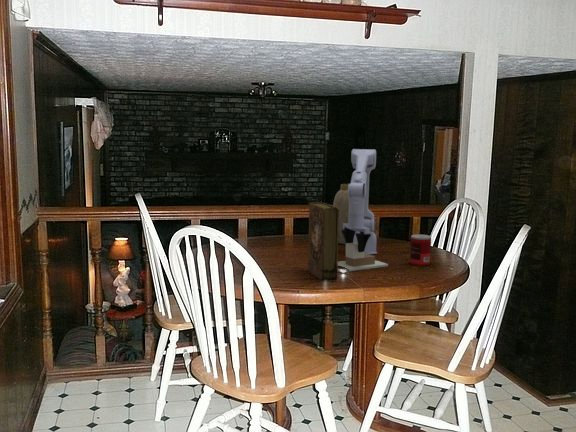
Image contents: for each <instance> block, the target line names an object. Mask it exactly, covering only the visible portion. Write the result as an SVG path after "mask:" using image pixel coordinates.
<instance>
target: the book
mask: <svg viewBox="0 0 576 432" xmlns="http://www.w3.org/2000/svg"><path fill="white" fill-rule="evenodd" d="M338 227H339V208H338V207H335V206H333V205H332V204H329V203H325V202H321V201H320V202H317V201H316V202H309V210H308V253H307V256H308V258H307V260H308V263H307V265H308V266H307V271H308V272H309V273H310V274H312V275H314V276H315V277H316V278H318V279H319V280H321V281H324V280H337V279H338V268H339V267H338V262H339V243H338Z"/></svg>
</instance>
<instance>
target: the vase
mask: <svg viewBox="0 0 576 432" xmlns="http://www.w3.org/2000/svg"><path fill="white" fill-rule="evenodd" d="M349 184H350V183H342V184H340V189H339V190H338V191H337V192H336V194H335V195H334V198H333V199H334V200H333V203H332V204H333V205H332V206H335V207H338V208H339V227H338V245H339V244H340V245H346V242H345V238H344V236H343V234H342V232H341V230H344V228H343V223H349V202H348V185H349ZM368 209H369V210H370V208H369V206H368ZM364 217H368V216H364Z"/></svg>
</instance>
